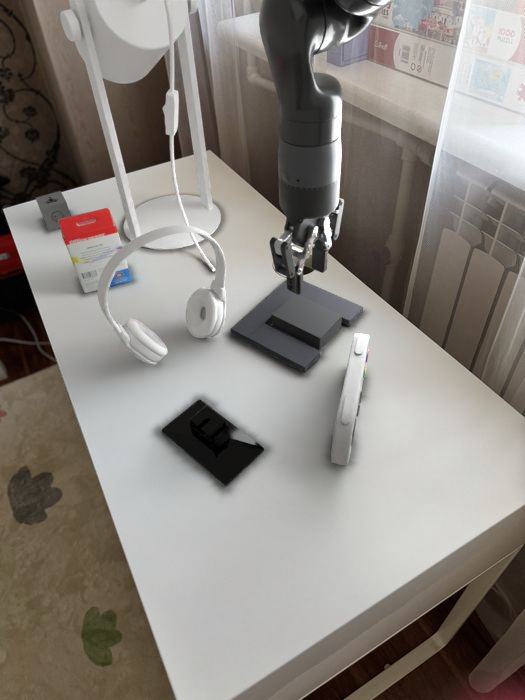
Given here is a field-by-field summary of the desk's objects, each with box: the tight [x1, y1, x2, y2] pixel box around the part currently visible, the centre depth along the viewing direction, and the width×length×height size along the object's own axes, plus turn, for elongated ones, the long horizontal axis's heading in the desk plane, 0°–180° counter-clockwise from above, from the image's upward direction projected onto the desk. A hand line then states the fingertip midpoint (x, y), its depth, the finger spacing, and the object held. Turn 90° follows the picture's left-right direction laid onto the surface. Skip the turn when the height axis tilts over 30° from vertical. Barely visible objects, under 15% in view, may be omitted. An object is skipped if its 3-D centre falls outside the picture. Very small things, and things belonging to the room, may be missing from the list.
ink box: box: [58, 207, 133, 294], centre depth 89 cm, size 8×5×15 cm, turn 111°
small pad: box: [271, 294, 342, 351], centre depth 83 cm, size 6×9×3 cm, turn 52°
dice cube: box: [35, 190, 72, 232], centre depth 107 cm, size 5×5×5 cm
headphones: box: [97, 225, 227, 365], centre depth 75 cm, size 7×18×20 cm, turn 123°
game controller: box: [330, 332, 371, 466], centre depth 68 cm, size 20×2×8 cm, turn 165°
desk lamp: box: [59, 0, 222, 272], centre depth 88 cm, size 21×32×45 cm, turn 35°
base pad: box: [230, 279, 364, 374], centre depth 84 cm, size 14×16×1 cm
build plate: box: [160, 399, 265, 487], centre depth 68 cm, size 12×7×5 cm, turn 47°
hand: (307, 279), depth 77 cm, fingers open, 5 cm apart
